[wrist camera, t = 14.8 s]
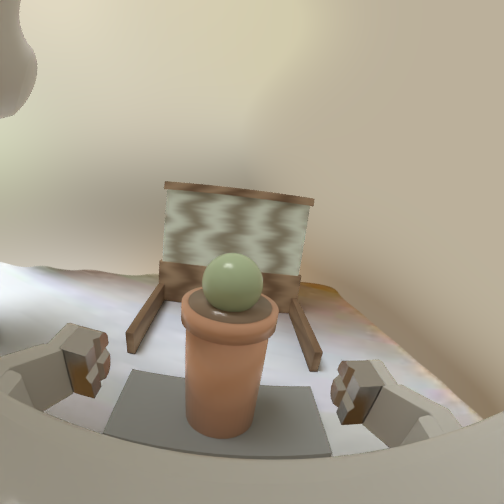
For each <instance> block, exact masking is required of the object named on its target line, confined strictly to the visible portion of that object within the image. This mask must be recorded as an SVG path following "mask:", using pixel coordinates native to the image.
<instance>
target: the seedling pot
mask: <svg viewBox="0 0 504 504" xmlns="http://www.w3.org/2000/svg"><path fill="white" fill-rule="evenodd" d="M262 290H263V277H262V273H261V271H260V269H259V267H258V266H257V264H256V263H255V262H254V261H253V260H252V259H250V258H249V257H247V256H245V255H242V254H239V253H226V254H222V255H220V256H218V257H216V258H215V259H213V260H212V261H211V262H210V263H209V264H208V266H207V267H206V269H205V271H204V274H203V278H202V287H199V288H196V289H193V290H191V291H189V292H187V293H186V294H185V295H184V296H183V298H182V305H181V321H182V324H183V326H184V327H185V328H186V352H185V407H186V418H187V421H188V423H189V424H190V426H191V427H192V428H193V429H194V430H196V431H197V432H199V433H200V434H202V435H205V436H208V437H211V438H217V439H228V438H233V437H237V436H239V435H241V434H243V433H244V432H246V431H247V430H248V429H249V428H250V426H251V424H252V421H253V416H254V412H255V407H256V402H257V396H258V391H259V386H260V381H261V376H262V371H263V365H264V360H265V354H266V349H267V343H268V338H269V337H271V336H272V335H273V333H274V332H275V329H276V324H277V318H278V312H279V309H278V306H277V304H276V303H275V302H274V301H273V300H272V299H270V298H269V297H267V296H266V295H264V294H261V293H262Z"/></svg>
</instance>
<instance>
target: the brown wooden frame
mask: <svg viewBox="0 0 504 504" xmlns="http://www.w3.org/2000/svg"><path fill="white" fill-rule="evenodd" d="M164 189H168V190H167V201H166V213H165V228H164V245H163V260H160V264H159V284H158V285H157V287H156V288H155V290H154V291H153V293H152V294H151V295H150V297H149V298H148V300H147V301H146V303H145V304H144V306H143V307H142V309H141V310H140V312H139V313H138V315H137V316H136V318H135V319H134V321H133V322H132V324H131V325H130V327H129V328H128V330H127V331H126V343H127V353H132V354H135V353H136V351H137V349H138V347H139V345H140V343H141V341H142V339H143V338H144V336H145V334H146V332H147V330H148V328H149V326H150V325H151V323H152V321H153V319H154V317H155V315H156V314H157V312H158V310H159V308H160V306H161V305H162V303H163V301H164V300H168V301H175V302H182V298H183V296H184V295H185V294H186V293H187V292H189V291H191V290H193V289H196V288H199V287H202V278H203V274H204V271H205V269H206V267H207V266H208V264H209V263H210V262H211V261H212V260H213V259H215V258H216V257H218V256H220V255H222V254H226V253H239V254H242V255H245V256H247V257H249V258H250V259H252V260H253V261H254V262H255V263H256V264H257V266H258V267H259V269H260V271H261V273H262V277H263V290H262V293H261V294H264V295H266V296H267V297H269V298H270V299H272V300H273V301H274V302H275V303H276V304H277V306H278V309H279V312H280V313H289V315H290V318H291V321H292V324H293V326H294V329H295V332H296V335H297V337H298V340H299V343H300V346H301V349H302V351H303V354H304V357H305V360H306V362H307V365H308V368H309V371H317V370H318V367H319V364H320V360H321V357H322V353H323V352H322V350H321V348H320V346H319V343H318V341H317V339H316V337H315V335H314V333H313V331H312V328H311V326H310V324H309V322H308V320H307V318H306V316H305V314H304V311H303V309H302V307H301V305H300V303H299V301H298V299H297V297H298V292H299V286H300V280H301V275H299V269H300V264H301V258H302V252H303V246H304V240H305V234H306V228H307V221H308V215H309V209H310V206H314V199H313V198H306V197H300V196H293V195H286V194H279V193H272V192H264V191H257V190H249V189H240V188H231V187H222V186H213V185H203V184H192V183H180V182H168V181H165V186H164Z"/></svg>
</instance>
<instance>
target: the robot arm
mask: <svg viewBox="0 0 504 504" xmlns="http://www.w3.org/2000/svg"><path fill="white" fill-rule="evenodd" d="M20 1H21V0H0V118H5V117H8V116H12V115H14V114H15V113H16V112H17V111H18V110H19V109H20V108H21V107H22V106H23V105H24V103H25V102H26V100H27V99H28V97H29V96H30V94H31V92H32V89H33V87H34V84H35V81H36V76H37V61H36V56H35V53H34V51H33V49H32V48H31V47H30V45H29V44H28V43H27V41H26V39H25V38H24V35H23V33H22V30H21V26H20V21H19V7H20ZM107 345H108V336H107V334H106V333H105V332H101V331H98V330H94V329H90V328H87V327H83V326H79V325H76V324H72V323H67V324H66V325H65V326H64V327H63V328H62V329H61V330H60V331H59V332H58V333H57V334H56V335H55V336H54V338H53V339H52V340H51V341H50V342H49V343H48V344H47V345H46V344H40V345H37V346H34V347H30V348H27V349H24V350H20V351H17V352H14V353H10V354H7V355H4V356H0V504H504V411H503V412H500V413H498V414H496V415H494V416H491V417H489V418H487V419H484V420H482V421H479V422H477V423H474V424H472V425H469V426H466V427H463V428H462V426H461V425H460V424H459V422H458V421H457V420H456V418H455V417H454V416H453V414H452V413H451V412H450V410H449V409H447V408H445V407H443V406H441V405H439V404H437V403H435V402H433V401H431V400H430V399H428V398H426V397H424V396H422V395H420V394H418V393H416V392H414V391H413V390H411V389H409V388H407V387H405V386H403V385H398V384H397V382H396V381H395V379H394V378H393V377H392V375H391V374H390V372H389V371H388V369H387V368H386V367H385V365H384V364H383V362H382V361H381V360H379V359H378V360H365V361H342V362H341V363H340V365H339V367H338V372H339V375H338V376H337V377H336V378H335V379H334V380H333V383H332V386H331V399H332V402H333V404H334V405H336V406H337V407H338V410H337V412H336V413H337V415H338V418H339V420H340V423H341V425H350V424H362V425H364V426H365V427H366V428H367V429H368V430H369V431H371V432H372V433H373V434H374V435H375V436H376V437H378V438H379V439H380V440H381V441H382V442H383V443H385V444H386V445H387V446H388V447H389V448H388V449H383V450H377V451H372V452H366V453H359V454H352V455H344V456H335V457H324V458H310V459H283V460H266V459H239V458H225V457H214V456H205V455H197V454H189V453H183V452H176V451H171V450H165V449H160V448H155V447H150V446H145V445H141V444H137V443H133V442H129V441H125V440H121V439H117V438H114V437H110V436H107V435H104V434H100V433H97V432H94V431H91V430H88V429H85V428H82V427H79V426H76V425H74V424H71V423H68V422H66V421H63V420H61V419H58V418H56V417H53V416H51V415H48V414H46V413H44V412H42V411H44V410H46V409H48V408H49V407H51V406H53V405H54V404H56V403H58V402H60V401H61V400H63V399H65V398H66V397H68V396H70V395H71V394H73V392H74V393H77V394H81V395H84V396H88V397H91V398H95V397H96V395H97V393H98V391H99V389H100V388H101V382H100V381H101V380H103V379H105V378H106V377H107V375H108V373H109V369H110V353H109V352H108V351H107V349H106V346H107Z"/></svg>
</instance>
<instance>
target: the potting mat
mask: <svg viewBox="0 0 504 504" xmlns="http://www.w3.org/2000/svg"><path fill="white" fill-rule="evenodd" d="M103 433H104V435H107V436H110V437H114V438H117V439H121V440H125V441H129V442H133V443H137V444H141V445H145V446H150V447H155V448H160V449H165V450H171V451H176V452H183V453H189V454H197V455H205V456H214V457H225V458H239V459H266V460H283V459H310V458H324V457H330V456H331V454H332V451H331V448H330V445H329V442H328V439H327V436H326V433H325V430H324V427H323V424H322V421H321V417H320V414H319V411H318V408H317V405H316V402H315V399H314V396H313V393H312V390H311V387H310V386H265V385H260V386H259V391H258V396H257V402H256V407H255V412H254V416H253V421H252V424H251V426H250V428H249V429H248V430H247V431H246V432H244V433H243V434H241V435H239V436H237V437H233V438H228V439H217V438H211V437H208V436H205V435H202V434H200V433H199V432H197V431H196V430H194V429H193V428H192V427H191V426H190V424H189V423H188V421H187V418H186V407H185V378H181V377H174V376H168V375H162V374H156V373H150V372H145V371H139V370H134V369H132V371H131V373H130V375H129V377H128V380H127V382H126V384H125V386H124V388H123V390H122V392H121V394H120V396H119V399H118V401H117V403H116V405H115V407H114V410H113V412H112V414H111V416H110V418H109V421H108V423H107V425H106V427H105V430H104V432H103Z"/></svg>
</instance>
